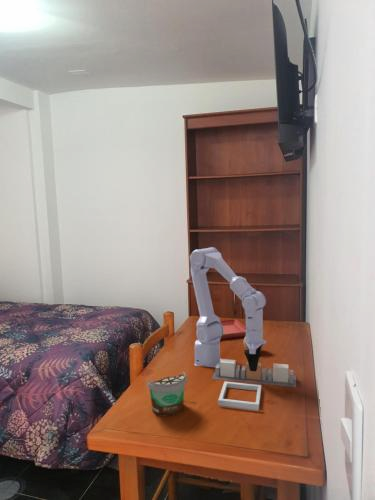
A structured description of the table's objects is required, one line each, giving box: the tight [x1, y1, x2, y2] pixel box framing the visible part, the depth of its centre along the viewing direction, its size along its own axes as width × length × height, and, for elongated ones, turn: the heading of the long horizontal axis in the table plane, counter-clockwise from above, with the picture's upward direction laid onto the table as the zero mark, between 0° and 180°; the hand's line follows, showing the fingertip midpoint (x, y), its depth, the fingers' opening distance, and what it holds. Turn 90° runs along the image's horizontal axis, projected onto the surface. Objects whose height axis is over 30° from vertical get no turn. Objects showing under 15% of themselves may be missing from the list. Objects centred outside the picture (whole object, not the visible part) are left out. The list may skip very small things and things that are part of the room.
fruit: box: [243, 335, 265, 352], centre depth 153 cm, size 8×8×8 cm
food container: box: [146, 371, 188, 417], centre depth 111 cm, size 12×6×10 cm, turn 117°
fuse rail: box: [211, 363, 297, 388], centre depth 131 cm, size 28×8×4 cm, turn 76°
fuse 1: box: [220, 358, 237, 377], centre depth 133 cm, size 5×3×5 cm, turn 76°
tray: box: [217, 380, 262, 412], centre depth 118 cm, size 12×12×2 cm
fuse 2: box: [272, 362, 290, 383], centre depth 128 cm, size 5×3×5 cm, turn 76°
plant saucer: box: [220, 318, 246, 340], centre depth 177 cm, size 18×18×3 cm
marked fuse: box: [245, 360, 263, 380], centre depth 130 cm, size 5×3×5 cm, turn 76°
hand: (254, 365), depth 130 cm, fingers open, 7 cm apart
